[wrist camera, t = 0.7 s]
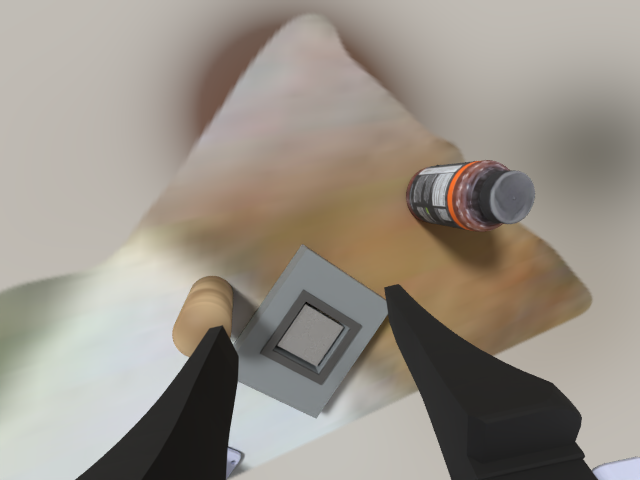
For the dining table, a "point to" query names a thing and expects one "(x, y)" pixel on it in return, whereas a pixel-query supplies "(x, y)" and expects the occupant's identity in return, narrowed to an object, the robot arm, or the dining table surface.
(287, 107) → the dining table surface
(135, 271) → the dining table surface
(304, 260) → the board
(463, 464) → the robot arm
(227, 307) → the peg
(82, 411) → the dining table surface
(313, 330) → the pad
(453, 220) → the supplement bottle
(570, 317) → the dining table surface
